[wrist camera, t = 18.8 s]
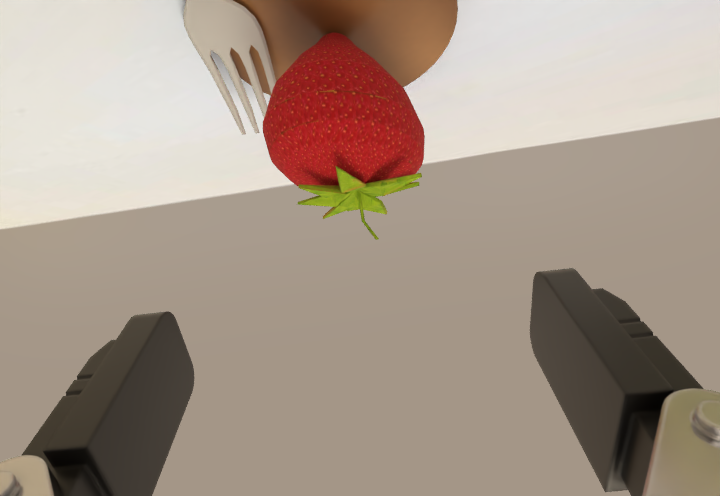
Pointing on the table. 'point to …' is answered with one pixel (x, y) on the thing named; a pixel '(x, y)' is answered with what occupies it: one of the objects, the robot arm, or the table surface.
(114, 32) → the table surface
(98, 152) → the table surface
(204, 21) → the fork
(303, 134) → the strawberry
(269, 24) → the copper coaster
